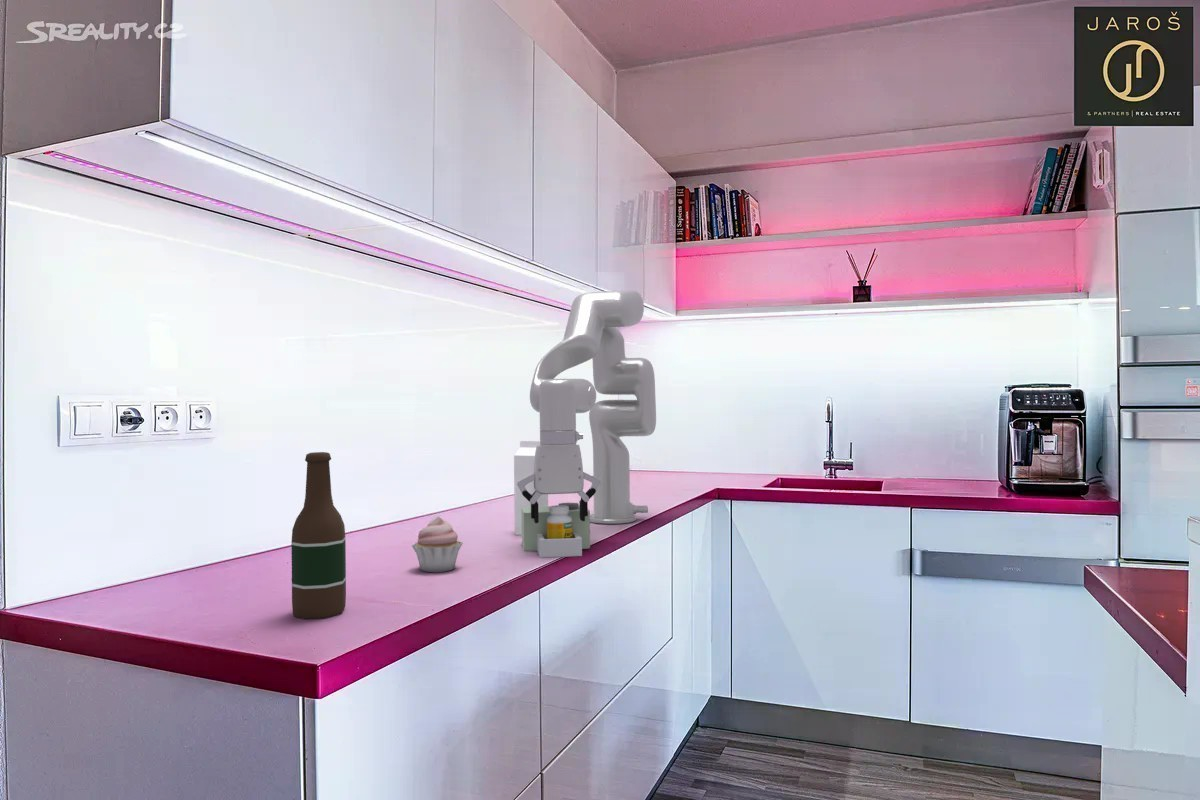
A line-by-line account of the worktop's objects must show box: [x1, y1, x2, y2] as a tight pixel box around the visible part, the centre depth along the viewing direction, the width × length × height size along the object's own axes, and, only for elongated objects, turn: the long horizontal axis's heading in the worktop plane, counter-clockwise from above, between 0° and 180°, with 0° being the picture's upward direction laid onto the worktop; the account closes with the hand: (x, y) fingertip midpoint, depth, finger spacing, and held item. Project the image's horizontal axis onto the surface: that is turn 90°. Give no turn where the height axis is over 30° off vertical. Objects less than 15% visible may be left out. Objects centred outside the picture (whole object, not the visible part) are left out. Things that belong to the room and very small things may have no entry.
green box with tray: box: [521, 502, 591, 559], centre depth 162 cm, size 14×16×9 cm
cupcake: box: [411, 515, 464, 573], centre depth 143 cm, size 9×9×10 cm
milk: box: [513, 440, 549, 536], centre depth 181 cm, size 6×6×22 cm
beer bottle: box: [291, 451, 347, 620], centre depth 114 cm, size 8×8×24 cm
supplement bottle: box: [547, 504, 572, 539], centre depth 158 cm, size 5×5×10 cm
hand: (559, 521), depth 158 cm, fingers open, 9 cm apart
